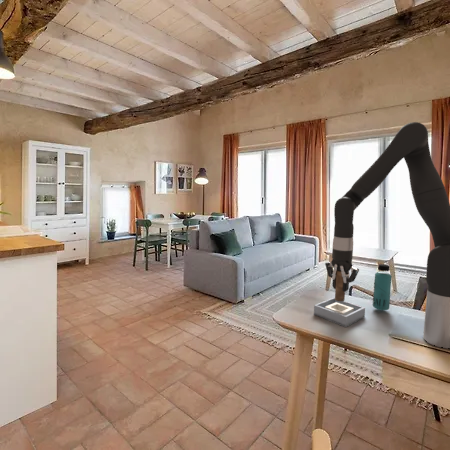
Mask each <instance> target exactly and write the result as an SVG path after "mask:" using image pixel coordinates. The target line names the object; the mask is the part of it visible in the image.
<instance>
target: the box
mask: <svg viewBox="0 0 450 450" xmlns="http://www.w3.org/2000/svg"><path fill="white" fill-rule="evenodd" d="M313 315H314V316H317V317H319V318H321V319H324V320H327V321H329V322H332V323H334V324H337V325H339V326H341V327H344V328H347V327H348V326H350V325H352V324H355V323H357V322H358V321H360V320H362V319H364V318H365V316H366V307H365V306H361V305H358V304H356V303H352V302H349V301H346V300H344V301H337V300H335V296H334V297H331V298H328V299H326V300H324V301H321V302H319V303H316V304H314V305H313Z"/></svg>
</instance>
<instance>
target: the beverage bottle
mask: <svg viewBox="0 0 450 450" xmlns="http://www.w3.org/2000/svg"><path fill="white" fill-rule="evenodd" d="M377 270H378V271H377V272H375V274H374V282H373V296H372V297H373V298H372V306H373V308H374V309H377V310H381V311H388V310H389V309H390V306H391V305H390V304H391V288H392V278H393V276H392V275H391V274H390V272H389V271H390V265H389V264H386V263H385V264H383V263H380V264H378V267H377Z"/></svg>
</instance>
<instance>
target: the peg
mask: <svg viewBox="0 0 450 450" xmlns="http://www.w3.org/2000/svg"><path fill="white" fill-rule="evenodd" d="M343 283H344V281H343V277H342V272H340V271H337V273H336V289H334V290H335V292H334V293H335V294H334V298H335V300H337V301H346V300H345V297H346V292H343Z"/></svg>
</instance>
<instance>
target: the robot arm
mask: <svg viewBox="0 0 450 450" xmlns="http://www.w3.org/2000/svg"><path fill="white" fill-rule="evenodd" d="M403 159H404V161H405V163H406V166H407V169H408V177H409V185H410V190H411V194H412V198H413V201H414V206H415V208H416V210H417V212H418V214H419V216H420V217H421V218H422V220H423V221H424V223H425V224H426V226H427V227H428V230H429V231H430V234H431V237H432V240H433V246H434V247H433V248H432V249H431V250H430V252H429V253H428V256H427V261H426V275H425V276H426V279H425V280H426V284H427V290H426V301H425V313H424V321H423V322H424V324H423V335H422V336H423V337H422V338H423V340H424V339H425V340H426V341H427V342H426V341H425V340H424V341H425V342H426V343H427V344H430V345H432V346H434V345H435V347H438V348H441V347H443V349H448V348H450V200H449V197H448V194H447V191H446V188H445V185H444V182H443V180H442V178H441V176H440V173H439V172H438V170H437V168H436V167H435V164H434V162H433V159H432V155H431V150H430V145H429V132H428V129H427V127H426V126H425V125H424V124H423V123H421V122H417V121H415V122H409V123H406V124H405V125H404V126H402V127H400V129H399V130H398V132H396V134H395V136H394V137H393V139H392V140H391V142H389V144H388V145H387V147H386V148H385V149H384V150H383V152H382V153H381V155H380V156H379V157H378V158H377V159H376V160H375V161H374V162H373V164H371V166H370V167H369V168H368V169H367V170H366V171H365V172H364V173H363V174H362V175H361V176H360V177H359V178H358V179H357V180H356V181H355V182H354V183H353V185H352V186H351V188H350V189H349V190H348V191H346V193H345V194H344V195H342V197H340V198H339V199H337V200H336V202H335V204H334V229H333V239H332V248H331V249H332V252H331V261H328V262H325V264H324V265H325V269H326V272H327V276H328V277H329V278H332V288H333V289H334V290H335V289H336V273H337V271H340V272H342V277H343V281H344V283H343V292H345V293H347V292H348V291H349V289H350V288H349V286H350V283H353V282H355V280H356V278H357V276H358V274H359V273H360V269H359V267H358V268H356V267H354V266H353V262H352V261H353V255H354V230H355V228H354V224H353V223H354V216H355V215H354V213H355V210H356V209H357V208H358V207H359V206H360V204H362V203H363V202H364V200H365V199H367V198H368V197H369V196H371V194H372V193H374V191H376V189H377V188H379V187H380V185H381V184H382V183H383V182H384V181H385V180H386V178H387V177H388V176H389V174H390V173H391V172H392V171H393V169H394V168H395V167H396V165H398V164H399V163H400V161H402V160H403Z"/></svg>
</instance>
